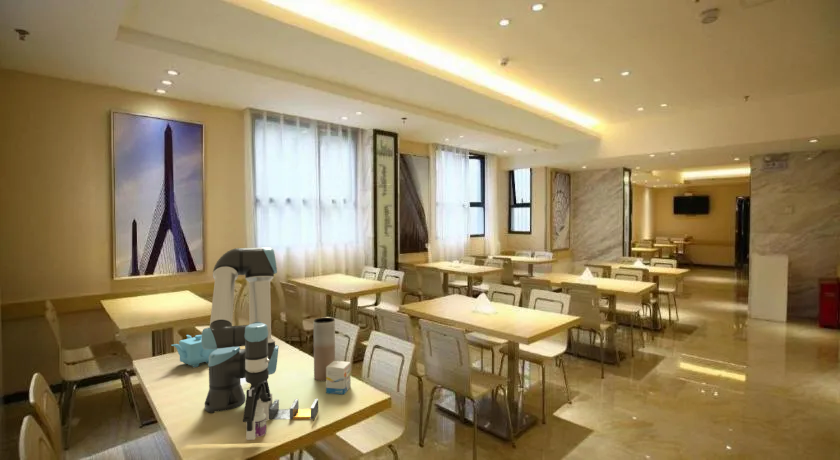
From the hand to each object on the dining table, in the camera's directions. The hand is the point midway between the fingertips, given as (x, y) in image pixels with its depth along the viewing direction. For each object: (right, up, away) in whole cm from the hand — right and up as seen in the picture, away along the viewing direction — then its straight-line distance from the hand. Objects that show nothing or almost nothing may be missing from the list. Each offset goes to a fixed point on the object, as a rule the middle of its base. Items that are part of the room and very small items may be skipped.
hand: (258, 429), depth 147 cm
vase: (+11, -1, +54) cm, 55 cm away
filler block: (-3, -1, +14) cm, 15 cm away
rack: (+4, -2, +15) cm, 15 cm away
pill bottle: (0, -3, 0) cm, 3 cm away
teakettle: (-60, -1, +74) cm, 95 cm away
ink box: (+21, -1, +39) cm, 44 cm away
